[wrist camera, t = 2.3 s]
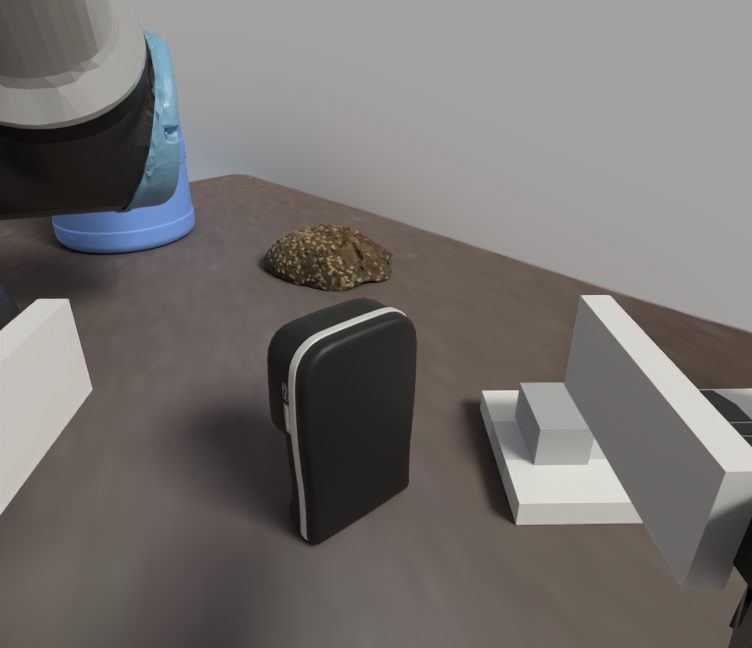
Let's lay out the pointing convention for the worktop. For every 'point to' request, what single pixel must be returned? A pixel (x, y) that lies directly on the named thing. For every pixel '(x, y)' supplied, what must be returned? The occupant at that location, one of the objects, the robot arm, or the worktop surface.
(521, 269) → the worktop surface
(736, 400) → the mount
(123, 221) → the water jug
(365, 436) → the battery charger
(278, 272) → the bread roll
